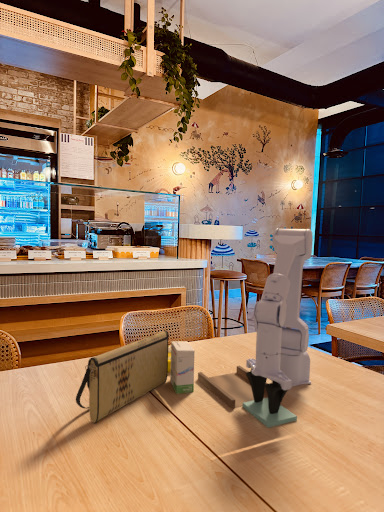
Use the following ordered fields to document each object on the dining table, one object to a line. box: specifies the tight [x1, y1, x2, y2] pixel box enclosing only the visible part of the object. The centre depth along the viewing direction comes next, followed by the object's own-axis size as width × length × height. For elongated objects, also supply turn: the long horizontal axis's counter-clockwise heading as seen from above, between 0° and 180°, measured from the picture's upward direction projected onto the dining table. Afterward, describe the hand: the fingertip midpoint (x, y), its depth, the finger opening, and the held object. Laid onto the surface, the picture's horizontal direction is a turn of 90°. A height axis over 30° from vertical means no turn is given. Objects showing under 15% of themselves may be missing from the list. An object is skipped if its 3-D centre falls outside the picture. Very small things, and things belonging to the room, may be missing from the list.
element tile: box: [168, 344, 171, 374], centre depth 114 cm, size 15×15×5 cm
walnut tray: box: [197, 365, 269, 409], centre depth 96 cm, size 14×18×2 cm
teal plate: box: [242, 398, 298, 428], centre depth 84 cm, size 8×10×2 cm
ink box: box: [169, 340, 195, 394], centre depth 97 cm, size 8×5×12 cm, turn 14°
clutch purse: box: [75, 330, 170, 424], centre depth 89 cm, size 30×7×15 cm, turn 147°
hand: (265, 406), depth 85 cm, fingers open, 5 cm apart
